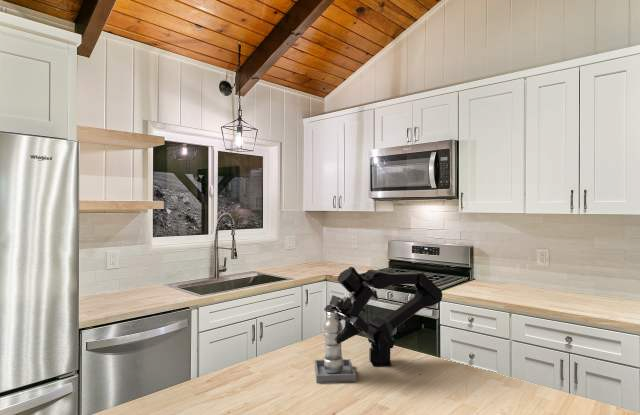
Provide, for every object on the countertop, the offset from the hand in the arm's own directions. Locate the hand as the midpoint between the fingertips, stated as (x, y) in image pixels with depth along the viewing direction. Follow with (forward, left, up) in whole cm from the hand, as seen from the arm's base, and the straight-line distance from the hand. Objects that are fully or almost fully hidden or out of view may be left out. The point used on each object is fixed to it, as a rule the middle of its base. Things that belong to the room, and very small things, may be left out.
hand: (330, 339), depth 132 cm
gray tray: (-1, -1, -11) cm, 12 cm away
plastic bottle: (-1, -1, -11) cm, 11 cm away
